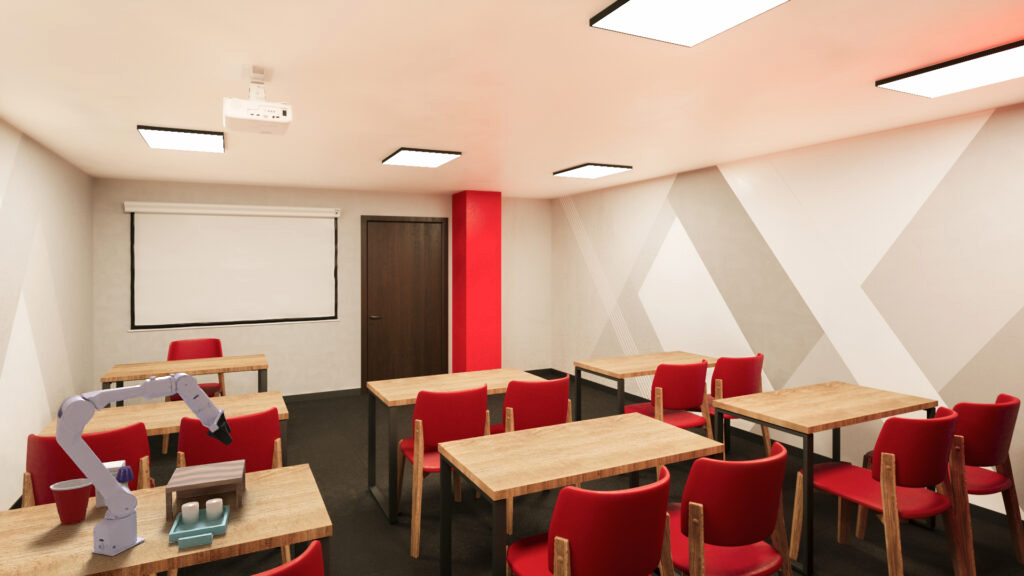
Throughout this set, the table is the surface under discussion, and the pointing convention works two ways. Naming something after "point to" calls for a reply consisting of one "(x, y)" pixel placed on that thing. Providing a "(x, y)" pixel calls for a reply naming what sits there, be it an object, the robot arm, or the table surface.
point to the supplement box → (113, 469)
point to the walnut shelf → (206, 482)
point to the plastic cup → (72, 500)
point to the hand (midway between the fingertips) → (229, 438)
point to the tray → (199, 523)
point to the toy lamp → (124, 475)
